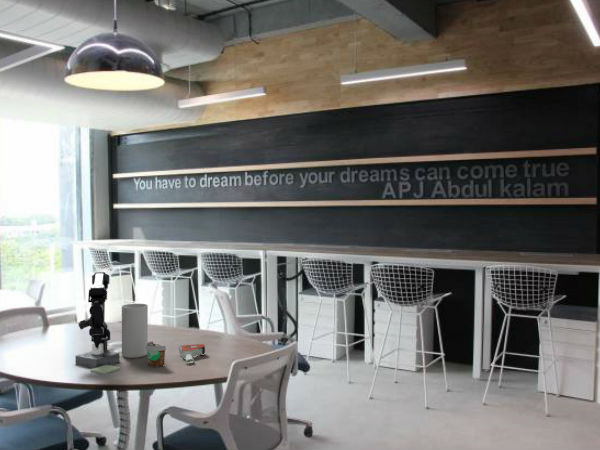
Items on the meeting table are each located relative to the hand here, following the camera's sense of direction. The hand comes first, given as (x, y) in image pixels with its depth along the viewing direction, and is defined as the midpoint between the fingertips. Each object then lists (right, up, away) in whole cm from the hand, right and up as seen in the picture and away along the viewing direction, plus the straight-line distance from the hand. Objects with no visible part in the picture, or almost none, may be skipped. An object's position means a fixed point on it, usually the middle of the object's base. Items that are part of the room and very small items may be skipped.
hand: (97, 345), depth 269 cm
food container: (+28, -9, -4) cm, 29 cm away
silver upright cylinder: (0, -8, 0) cm, 8 cm away
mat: (+8, -9, -12) cm, 17 cm away
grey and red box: (+42, -9, +10) cm, 44 cm away
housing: (0, -8, 0) cm, 8 cm away
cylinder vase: (+14, -8, +14) cm, 21 cm away
